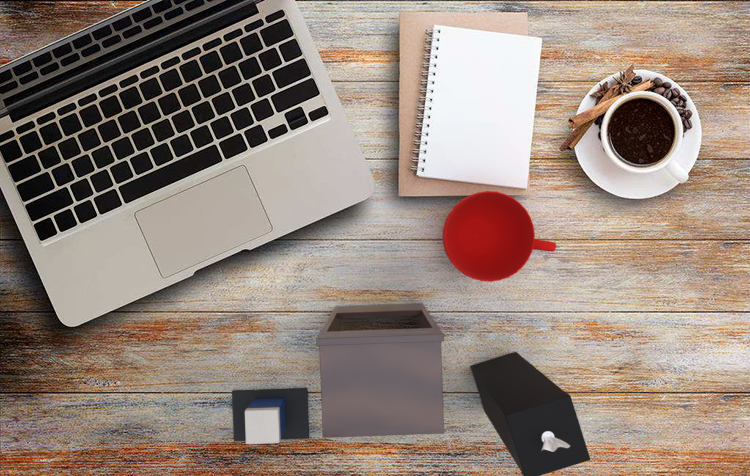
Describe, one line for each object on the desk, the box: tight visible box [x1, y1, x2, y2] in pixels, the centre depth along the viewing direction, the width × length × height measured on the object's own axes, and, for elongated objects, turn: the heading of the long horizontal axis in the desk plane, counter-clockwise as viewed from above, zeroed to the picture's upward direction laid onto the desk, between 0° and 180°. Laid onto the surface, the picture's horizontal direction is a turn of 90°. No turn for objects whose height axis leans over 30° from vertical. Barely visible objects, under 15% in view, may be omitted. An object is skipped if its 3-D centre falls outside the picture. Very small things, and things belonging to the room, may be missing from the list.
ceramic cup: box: [441, 190, 557, 283], centre depth 82 cm, size 13×17×10 cm
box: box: [245, 398, 286, 445], centre depth 84 cm, size 5×5×6 cm
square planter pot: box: [315, 302, 445, 439], centre depth 74 cm, size 12×14×28 cm
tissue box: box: [469, 351, 591, 476], centre depth 74 cm, size 8×8×28 cm
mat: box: [231, 387, 310, 442], centre depth 87 cm, size 8×12×1 cm, turn 92°
